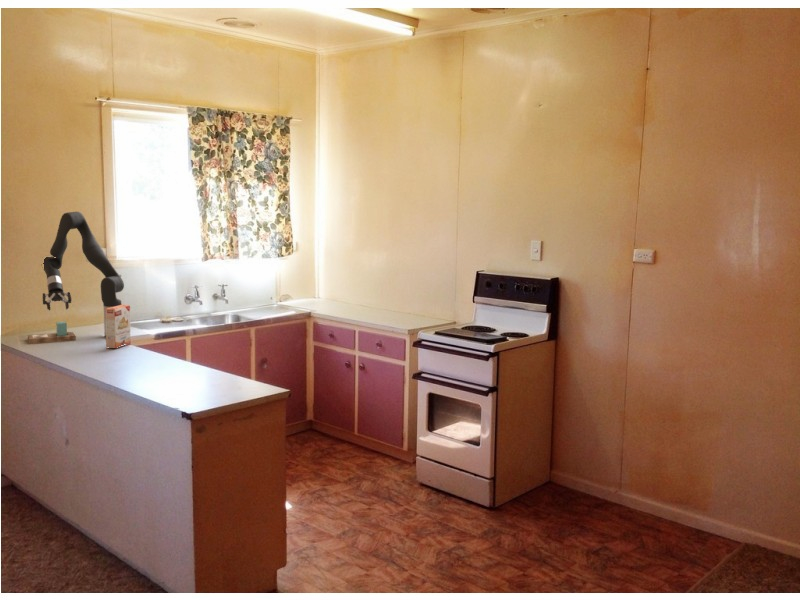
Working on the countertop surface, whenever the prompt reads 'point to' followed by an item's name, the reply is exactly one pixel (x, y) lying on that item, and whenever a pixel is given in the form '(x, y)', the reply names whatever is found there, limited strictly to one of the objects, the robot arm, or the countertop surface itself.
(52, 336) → the puzzle board
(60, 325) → the teal block
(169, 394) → the countertop surface
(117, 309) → the cracker box
